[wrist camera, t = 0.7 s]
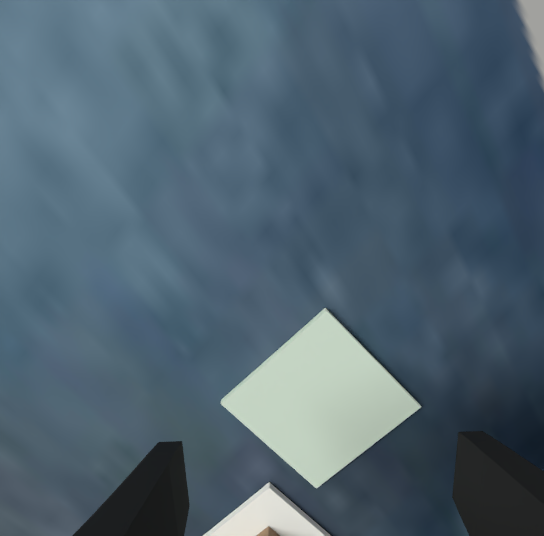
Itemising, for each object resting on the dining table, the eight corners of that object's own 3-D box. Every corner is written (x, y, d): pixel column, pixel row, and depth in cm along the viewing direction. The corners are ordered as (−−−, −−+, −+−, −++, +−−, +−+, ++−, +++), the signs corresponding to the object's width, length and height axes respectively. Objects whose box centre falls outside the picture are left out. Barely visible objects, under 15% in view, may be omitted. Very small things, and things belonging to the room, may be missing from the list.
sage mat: (418, 402, 19) (421, 407, 19) (315, 482, 20) (316, 488, 20) (325, 307, 18) (326, 310, 18) (221, 399, 19) (220, 403, 19)
